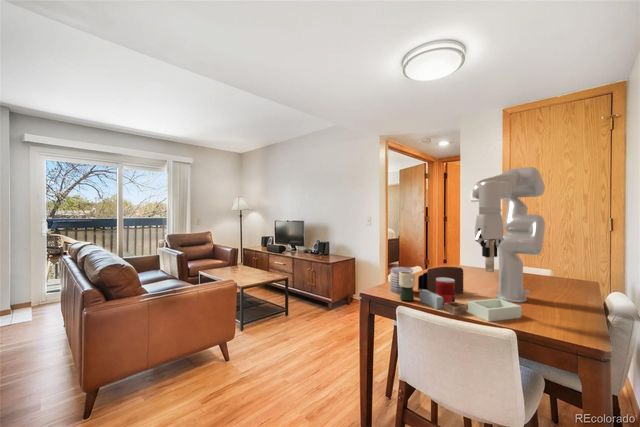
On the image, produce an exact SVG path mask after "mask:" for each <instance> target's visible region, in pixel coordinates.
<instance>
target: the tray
mask: <svg viewBox="0 0 640 427" xmlns="http://www.w3.org/2000/svg"><path fill="white" fill-rule="evenodd" d="M467 313H469V314H471V315H473V316H475V317H478V318H480V319H482V320H484V321H486V322H494V321H495V322H496V321H505V320H513V319H521V318H522V305H520V304H516V303H514V302H510V301H505V300H502V299H499V298H491V299H490V298H489V299H488V298H487V299H479V300H470V301H469V300H468V302H467Z"/></svg>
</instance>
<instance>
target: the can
mask: <svg viewBox="0 0 640 427" xmlns="http://www.w3.org/2000/svg"><path fill="white" fill-rule="evenodd" d="M401 271H409V272H414V269H413V268H411V267H406V266H397V267H392V268H390V292H391V293H393V294H396V295H400V294H401V288H402V286H400V285H399V272H401ZM412 289H413V290H414V287H412Z"/></svg>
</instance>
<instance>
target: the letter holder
mask: <svg viewBox="0 0 640 427" xmlns="http://www.w3.org/2000/svg"><path fill="white" fill-rule="evenodd" d="M438 277H445V278H451V279H454V280H455V295H464V270H463V268H462V267H457V266H438V267H432V268H431V267H430V268H428V269H427V271H426V272H423V273H422V274H419V275H418V278H417V279H418V280H417V290H418V291H419V292H420V290H428V291H430V292H432V293H434V294H436V278H438Z"/></svg>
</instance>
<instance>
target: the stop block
mask: <svg viewBox="0 0 640 427" xmlns="http://www.w3.org/2000/svg"><path fill="white" fill-rule="evenodd" d="M419 301H420V302H421V303H423V304H426V305H427V306H429V307H432V308H433V309H435V310H444V305H443V297H441V296H439V295H437V294H434V293H432V292H430V291H428V290H420V291H419Z"/></svg>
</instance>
